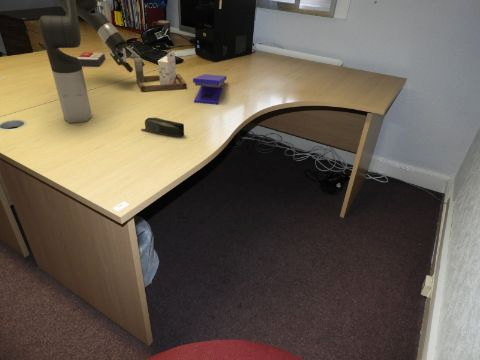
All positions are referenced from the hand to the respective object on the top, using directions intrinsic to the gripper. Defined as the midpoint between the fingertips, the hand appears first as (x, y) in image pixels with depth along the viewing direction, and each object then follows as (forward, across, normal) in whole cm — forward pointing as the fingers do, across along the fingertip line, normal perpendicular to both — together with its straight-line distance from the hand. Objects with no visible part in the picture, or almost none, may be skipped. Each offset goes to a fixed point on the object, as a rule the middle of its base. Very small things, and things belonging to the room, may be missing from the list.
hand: (137, 68), depth 146 cm
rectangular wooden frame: (+11, +6, 0) cm, 12 cm away
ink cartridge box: (+13, +8, -2) cm, 15 cm away
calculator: (-23, +17, +35) cm, 46 cm away
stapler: (+28, +10, -16) cm, 33 cm away
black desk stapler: (+29, -35, -18) cm, 49 cm away
